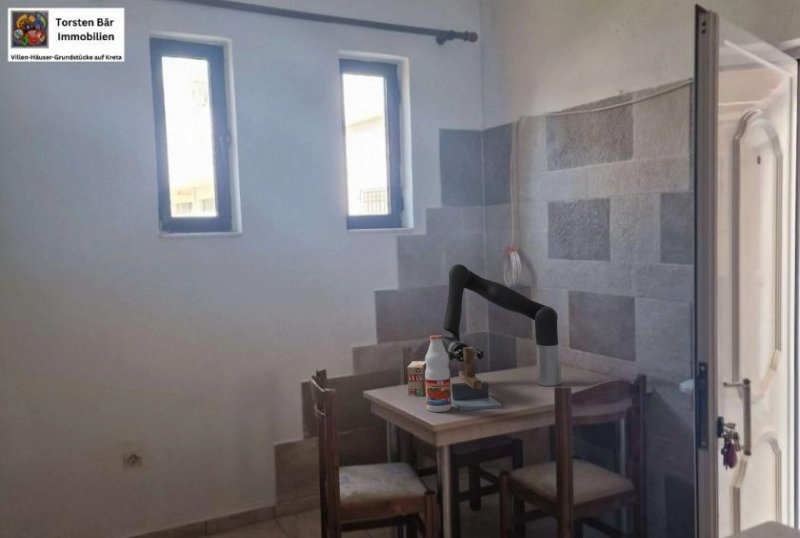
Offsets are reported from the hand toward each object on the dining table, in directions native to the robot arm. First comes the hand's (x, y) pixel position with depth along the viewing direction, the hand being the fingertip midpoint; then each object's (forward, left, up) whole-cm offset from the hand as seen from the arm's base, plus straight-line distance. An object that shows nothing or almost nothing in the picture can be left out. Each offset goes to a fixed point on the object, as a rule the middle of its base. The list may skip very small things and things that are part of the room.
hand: (470, 357), depth 243 cm
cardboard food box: (+15, -27, -18) cm, 36 cm away
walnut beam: (0, -2, -10) cm, 11 cm away
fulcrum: (0, -2, -18) cm, 18 cm away
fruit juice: (+15, +6, -18) cm, 24 cm away
